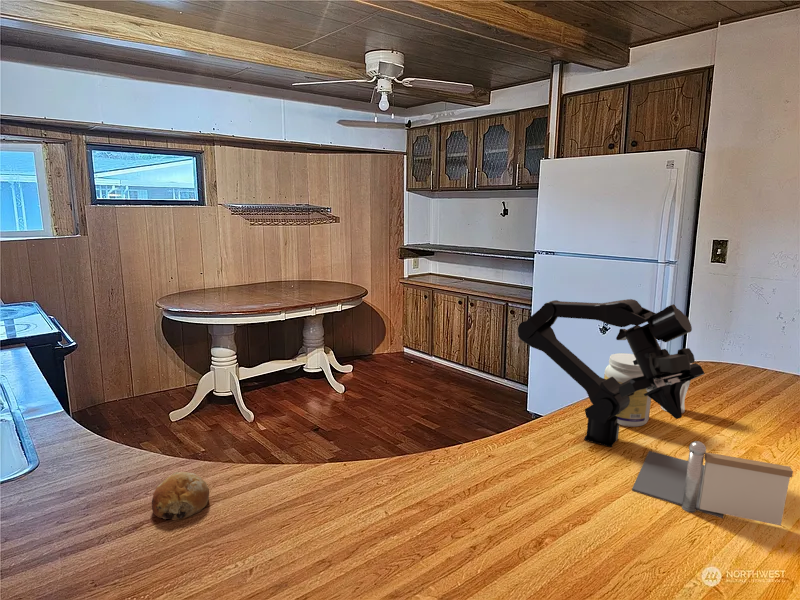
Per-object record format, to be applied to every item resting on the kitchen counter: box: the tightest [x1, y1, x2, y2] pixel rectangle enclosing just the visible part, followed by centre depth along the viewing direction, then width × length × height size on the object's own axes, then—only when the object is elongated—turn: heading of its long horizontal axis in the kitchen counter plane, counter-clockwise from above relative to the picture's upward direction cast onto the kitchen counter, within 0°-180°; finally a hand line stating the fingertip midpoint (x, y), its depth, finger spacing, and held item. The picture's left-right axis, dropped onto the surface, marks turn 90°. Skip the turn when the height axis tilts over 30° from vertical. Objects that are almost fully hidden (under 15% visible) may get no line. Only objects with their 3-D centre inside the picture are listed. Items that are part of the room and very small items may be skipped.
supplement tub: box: [603, 352, 652, 428], centre depth 140 cm, size 12×12×17 cm
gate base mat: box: [631, 450, 725, 519], centre depth 110 cm, size 16×20×1 cm
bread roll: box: [151, 471, 210, 520], centre depth 98 cm, size 10×10×8 cm
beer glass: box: [660, 363, 693, 414], centre depth 147 cm, size 7×7×15 cm
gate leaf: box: [699, 451, 794, 526], centre depth 96 cm, size 13×2×11 cm, turn 69°
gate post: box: [681, 440, 707, 514], centre depth 99 cm, size 3×3×14 cm
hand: (679, 418), depth 112 cm, fingers closed
